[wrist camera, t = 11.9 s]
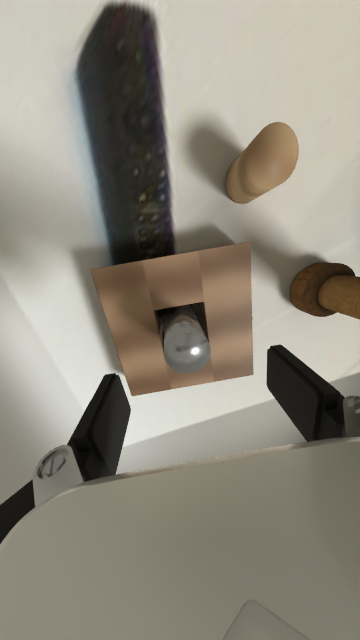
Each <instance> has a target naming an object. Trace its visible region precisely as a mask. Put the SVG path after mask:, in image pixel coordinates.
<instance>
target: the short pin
mask: <svg viewBox="0 0 360 640" xmlns="http://www.w3.org/2000/svg"><path fill="white" fill-rule="evenodd" d="M297 159H298V141H297V138H296V135H295V133H294V131H293V130H292V129H291V128H290V127H289V126H288V125H287V124H285V123H281V122H275V123H271V124H269V125H267V126H266V127H265V128H263V129H262V130H261V132H260V133H259V134H258V135H257V136H256V137H255V138H254V140H253V141H252V142H251V143H250V144H249V145H248V147H247V148H246V149H245V150H244V151H243V152H242V154H241V155H240V156H239V157H238V158H237V159H236V161H235V162H234V163H233V164H232V165H231V167H230V168H229V170H228V173H227V176H226V188H227V192H228V194H229V196H230V197H231V199H232V200H233V201H235V202H237V203H240V204H245V203H248V202H250V201H252V200H254V199H255V198H257V197H259V196H261V195H262V194H264V193H266V192H268V191H269V190H271V189H273V188H275V187H276V186H278V185H280V184H282V183H283V182H284V181H286V180H287V179H288V178H289V177H290V175H291V174H292V172H293V170H294V168H295V166H296V163H297Z"/></svg>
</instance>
